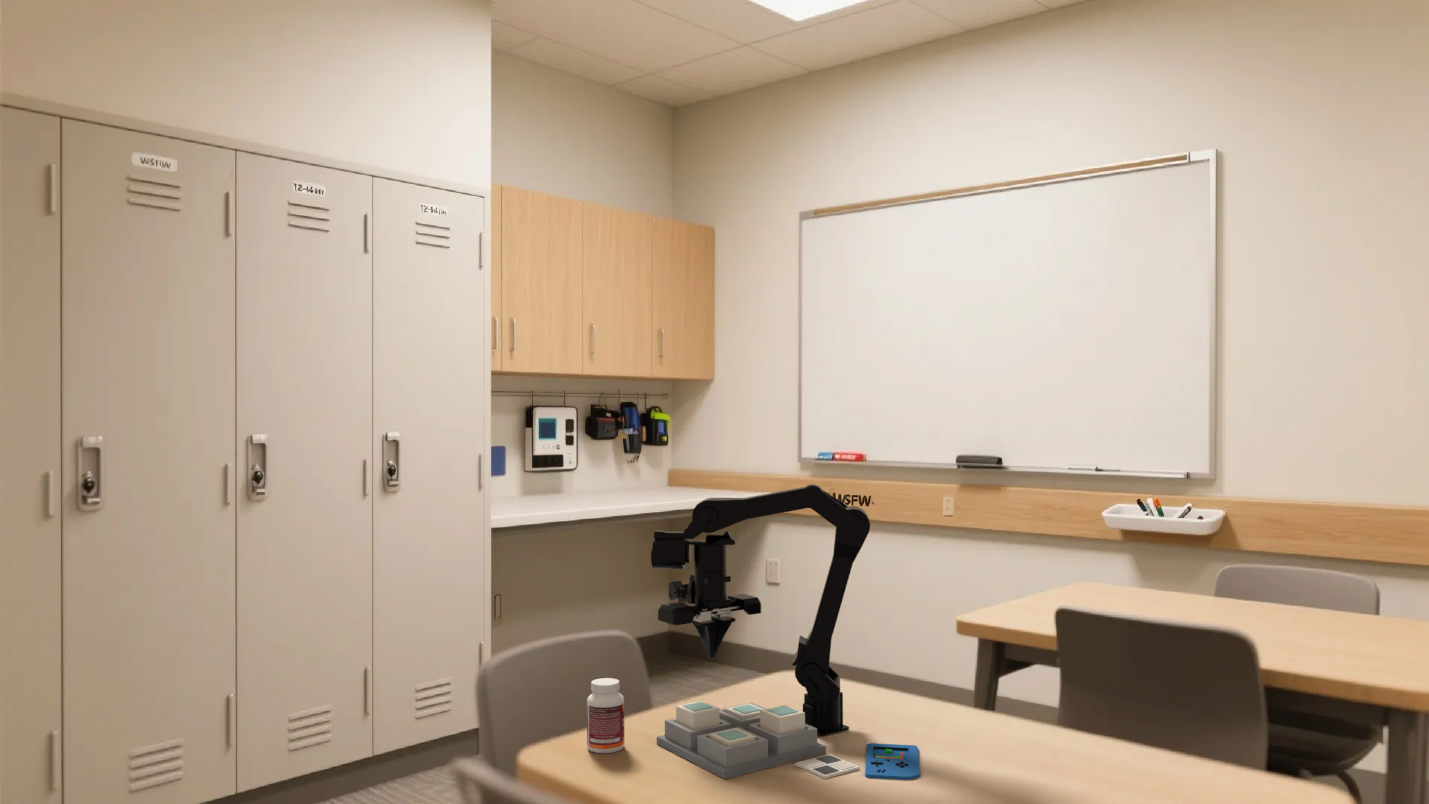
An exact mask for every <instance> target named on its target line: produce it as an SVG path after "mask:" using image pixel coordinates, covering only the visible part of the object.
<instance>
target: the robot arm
mask: <svg viewBox="0 0 1429 804" xmlns="http://www.w3.org/2000/svg"><path fill="white" fill-rule="evenodd" d="M804 509H811V510H812V511H814V512H815V513H817V514H818V515H819V516H821V517H822V518H823V519H824V520H825V521H827V522H829V523H830V524H831V525H832V526H834V527H835V533H834V534H835V535H834V542H833V552H832V553H833V555H832V558H831V562H830V566H829V569H828V573H827V576H826V579H825V582H824V586H823V589H822V593H821V597H820V600H819V604H818V607H817V611H816V614H815V617H814V621H813V625H812V628H811V631H810V632H809V634H808V636H807V638H806V637H805V636H802V635H799V639H798V646H797V650H796V652H795V653H794V654H793V658H792V666H793V667H794V666H795V668H794V676H795V678H796V681H797V683H798V684H800V686H802V687H804V688H805V690H806V693H804V694H803V698H804V699H803V700H804V701H803V703H802V711H803V712H805V724H807V725H810V726H812V727H815V728H817V736H820V737H823V736H829V735H833V734H838V733H842V732H845V731H849V730H850V726H848V725H846V724H844V695H843V692H842V691H841V676H840V675H839V674H838V673H837V672H836V671H835V670H834V669H833V668H832V667H831V666H830V659H831V651H832V650H831V648H832V647H831V646H832V638H833V635H834V631H835V627H836V624H837V620H838V616H839V615H840V614H839V613H840V610H841V608H842V607H841V606H842V603H843V600H844V596H845V592H846V589H847V586H848V582H849V579H850V575H851V571H852V568H853V564H854V563H855V560H856V558H857V556H858V555H859V553H860V551H861V549H862V548H863V545H864V543H865V541H866V540H867V537H868V535H869V533H870V532H871V531H870V530H871V522H870V519H869V515H868V513H867V512H866V511H865V510H864V509H862V508H861V507H858V506H856V505H850V506H848V505H846V503H844V502H842V501H841V500H839V499H838V498H836V497H834V496H833V495H832V494H830V493H828V492H826V491H825V490H823V489H822V487H821V486H819V485H818V484H815V483H814V484H813V483H812V484H811V483H810V484H807V485H805V486H802V487H801V486H800V487H796V488H792V489H786V490H781V491H776V492H775V491H774V492H769V493H764V494H759V495H754V496H748V497H747V496H746V497H707V498H705V499H703V500H701V501H700V502H698V503H697V504H696V505H695V507H694V508H693V510H692V513H691V514H692V515H691V518H692V519H691V522H690V523H689V524H688V525H687V526H686V527H685V528H684V531H666V530H655V531H654V532H653V540H652V548H651V549H652V550H651V551H650V560H651V561H650V562H651V566H652V567H651V568H652V569H653V570H685V569H686V565H687V564H689V565H690V564H691V563H692V557H693V556H694V557H693V558H694V559H693V561H694V562H693V563H694V565H693V566H694V567H693V568H694V570H693V571H694V573H693V574H689V578H688V579H689V581H688V583H685V584H683V582H682V581H681V580H675V581H671V582H669V583H668V591H667V593H668V597H669V600H670V601H676V602H670V603H669V602H668V603H662V604H661V605H660V606H659V608H658V610H657V621H659V622H663V623H666V624H669V625H672V626H679V625H689V624H692V625H693V626H694V628H695V629H696V631H697V633H698V635H699V638H700V640H701V643H702V646H703V648H704V651H705V655H706V657H707V659H715V658H716V655H717V652H718V651H719V648H720V646H721V643H722V641H723V639H724V638H725V635H726V634H727V632H728V631H729V628H730V626H731V625H732V624H733V623H735V622H736V620H737V619H736V618H735V617H732V612H736V611H744V612H745V614H746V615H748V616H750V615H759V614H762V602H761V600H760V599H759V597H758V596H754V595H749V594H745V593H741V594H734V595H733V594H732V595H728V596H727V594H728V593H727V583H731V580H732V579H731V575H727V546H734V545H736V543H737V542H738V539H737V538H736V537H735V536H734V535H733V534H732V533H731V532H730V530H729V529H727V530H725V531H724V533H723V534H712V533H716V532H718V531H720V530H723V529H725V528H728V527H731V526H734V525H735V524H738V523H741V522H743V521H746V520H749V519H750V520H751V519H756V518H761V517H766V516H773V515H776V514H783V513H788V512H794V511H799V510H804ZM702 533H705V534H707V535H706V536H705V539H695V538H697V537H698V536H699V535H701V534H702ZM709 533H710V534H709Z"/></svg>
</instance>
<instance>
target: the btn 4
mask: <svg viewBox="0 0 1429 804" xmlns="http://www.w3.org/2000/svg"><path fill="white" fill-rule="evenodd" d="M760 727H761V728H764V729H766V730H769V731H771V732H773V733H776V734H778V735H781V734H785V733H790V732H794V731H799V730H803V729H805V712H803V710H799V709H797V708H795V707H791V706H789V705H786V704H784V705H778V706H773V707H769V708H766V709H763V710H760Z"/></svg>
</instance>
